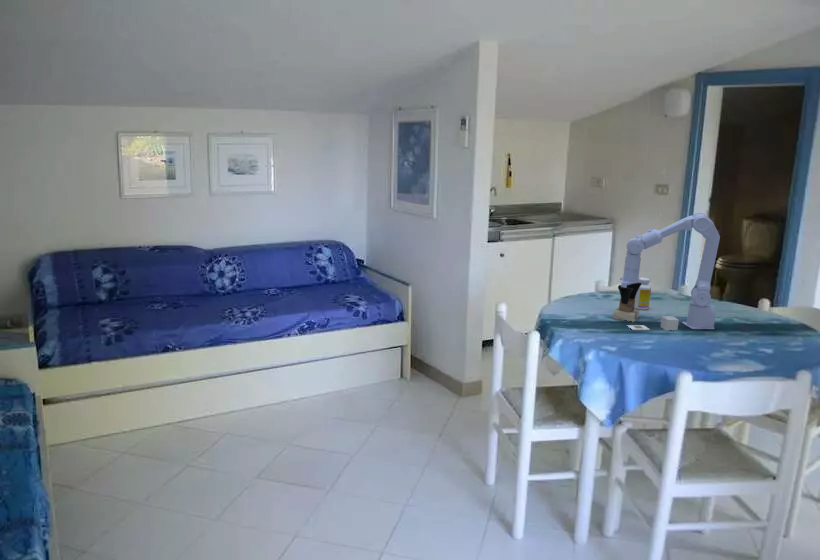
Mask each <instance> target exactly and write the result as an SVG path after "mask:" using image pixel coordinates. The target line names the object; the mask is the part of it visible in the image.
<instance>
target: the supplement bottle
mask: <svg viewBox="0 0 820 560" xmlns="http://www.w3.org/2000/svg"><path fill="white" fill-rule="evenodd" d="M650 281H651V279H650V278H647V277H639V282H638V283H641V286H640V288H639V289H638V291H637V294H636V296H635V299H634V300H635V306H634V309H636V310H639V311H644V310H648V309H649V307H650V300H651V292H652V286H651V285H650V284H649V283H650Z"/></svg>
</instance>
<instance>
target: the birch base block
mask: <svg viewBox="0 0 820 560" xmlns="http://www.w3.org/2000/svg"><path fill="white" fill-rule="evenodd" d="M639 314H640V309H636V308H634V311H632V312H630V313H629V312H625V311H620V310H619V306H618V307H616V309H615V310H614V311H613V316H612V318H613V319H614V318H615V320H619V319H621V320H620V321H624V320H627V321H626V322H629V321H632V322H631V323H635V321H636V320H637V319H638V318H639Z"/></svg>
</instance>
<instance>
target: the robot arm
mask: <svg viewBox="0 0 820 560" xmlns="http://www.w3.org/2000/svg"><path fill="white" fill-rule="evenodd" d="M693 229H694V231H696V232H697V233H699V234H700V235H701V236H702V237H703V238H704V239H705V241H704V246H703V251H702V255H701V260H700V265H699V269H698V273H697V274H698V275H697V279H696V281H695V285H694V286H693V288H692V289H691V291H690V296H691V298H692V299H691V300H690V301H689V305H688V311H687V312H688V313H687V317H686V321H682V322H681V324H683V325H685V326H686V327H688V328H689V329H691V330H715V320H716V316H717V314H716V313H717V311H716V307H715V306H714V305H713V304H710V303H711V301H712V296H711V283H712V276H713V273H714V268H715V263H716V260H717V259H716V258H717V253H718V249H719V246H720V245H719V244H720V240H721V239H720V238H721V236H720V233H719V231H718V229H717V228H716V226H715V223H714V221H712V219H710V217H709V216H707V215H706V214H705V213H703V212H697V213H694V214H693V215H689V216H686V217H683V218H682V219H679V220H678V221H676V222H673V223H671V224H670V225H667V226H666V227H664V228H660V230H658V229H655V228H654V229H651V228H650V229H648V230H647V232H645V233H643V234H641V235H636V237H634V238H630V239H629V240H628V241H627V242H626V249H627V250H626V252H625V253H626V256H625V260H624V268H623V277H620V278H619V280H620V281H621V284H619V285H618V286H617V288H618V291H619V294H620V299H621V302H622V304H627V303H628V300H629V298H630V299H635V296H636V294H637V291H638V289H639V288H640V286H641V283H638V282H639V278H640V276H639V275H640V269H641V261H642V259H641V255H642V254H641V253H642V252H643V250H647V249H649V248H652V247H654V246H657V245H659V244H660V243H662V241H663V239H664V238H666V237H668V236H671V235H674V234H676V233H678V232H681V231H693Z"/></svg>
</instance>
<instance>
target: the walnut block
mask: <svg viewBox="0 0 820 560" xmlns="http://www.w3.org/2000/svg"><path fill="white" fill-rule="evenodd" d="M634 306H635V300H634V299H630V298H629V300H628V303H627V304H622V302H621V298H620V299H619V305H618V307H619V310H620V311H625V312H629V313H630V312H632V311H634V309H635V308H634Z"/></svg>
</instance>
